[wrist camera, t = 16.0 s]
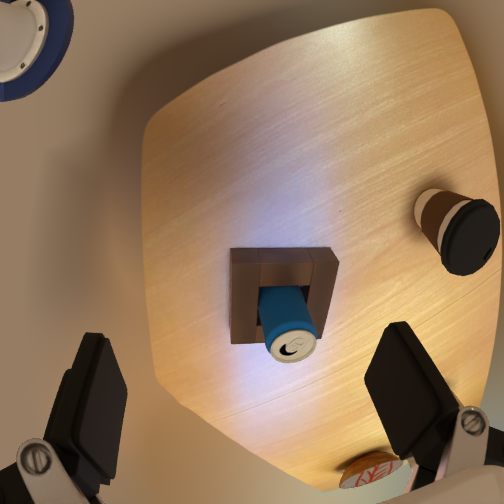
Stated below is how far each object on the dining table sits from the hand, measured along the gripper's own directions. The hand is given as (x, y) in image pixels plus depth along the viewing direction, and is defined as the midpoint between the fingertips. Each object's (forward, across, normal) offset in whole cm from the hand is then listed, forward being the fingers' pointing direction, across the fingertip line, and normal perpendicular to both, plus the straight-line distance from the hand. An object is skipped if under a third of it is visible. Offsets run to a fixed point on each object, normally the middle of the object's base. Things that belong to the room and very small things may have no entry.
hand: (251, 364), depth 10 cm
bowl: (+31, -51, +101) cm, 117 cm away
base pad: (+30, -8, +19) cm, 37 cm away
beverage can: (+31, -8, +19) cm, 37 cm away
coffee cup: (+31, -31, +5) cm, 44 cm away
